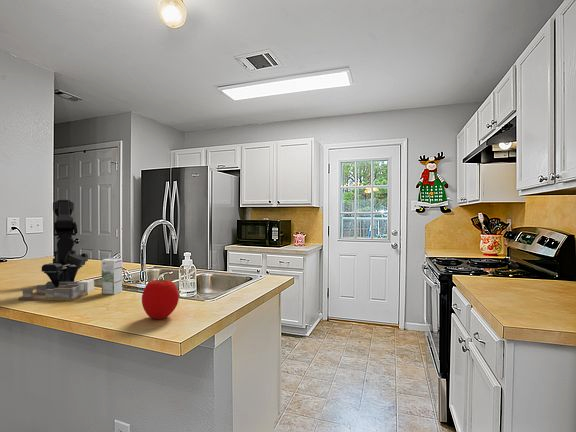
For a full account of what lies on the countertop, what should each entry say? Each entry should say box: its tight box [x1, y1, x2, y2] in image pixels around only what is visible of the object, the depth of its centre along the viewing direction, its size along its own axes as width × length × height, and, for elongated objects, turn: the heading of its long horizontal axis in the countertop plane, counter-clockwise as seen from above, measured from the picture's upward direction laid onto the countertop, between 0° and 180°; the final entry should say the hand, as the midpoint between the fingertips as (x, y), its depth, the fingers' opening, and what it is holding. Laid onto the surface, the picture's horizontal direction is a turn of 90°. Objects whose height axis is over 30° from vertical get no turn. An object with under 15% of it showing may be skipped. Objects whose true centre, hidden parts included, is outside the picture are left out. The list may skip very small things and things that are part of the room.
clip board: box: [18, 284, 89, 302], centre depth 127 cm, size 9×21×4 cm, turn 89°
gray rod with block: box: [45, 279, 95, 294], centre depth 138 cm, size 18×4×4 cm, turn 89°
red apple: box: [141, 278, 180, 320], centre depth 104 cm, size 11×11×13 cm
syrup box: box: [101, 257, 123, 295], centre depth 135 cm, size 6×6×14 cm
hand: (64, 284), depth 138 cm, fingers open, 9 cm apart
